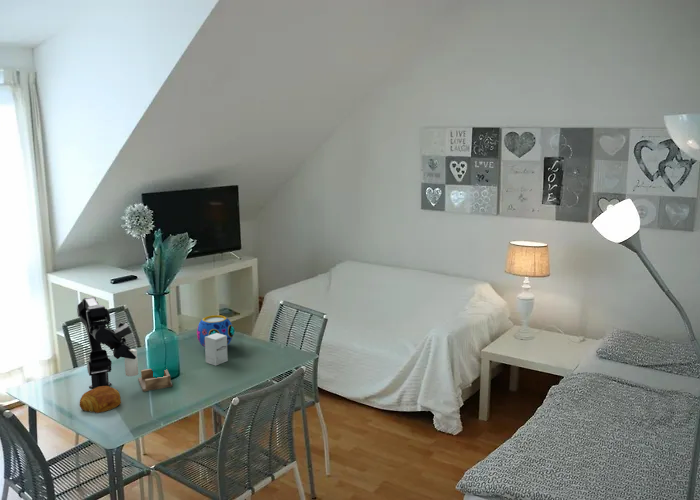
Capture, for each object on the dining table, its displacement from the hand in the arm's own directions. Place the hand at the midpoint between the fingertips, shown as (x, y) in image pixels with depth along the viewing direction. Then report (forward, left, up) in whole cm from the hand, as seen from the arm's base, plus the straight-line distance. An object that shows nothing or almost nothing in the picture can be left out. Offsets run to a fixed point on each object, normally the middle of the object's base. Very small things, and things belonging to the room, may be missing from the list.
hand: (134, 356), depth 263 cm
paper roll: (-1, +1, -8) cm, 8 cm away
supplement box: (+35, -17, -14) cm, 42 cm away
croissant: (-20, +1, -14) cm, 24 cm away
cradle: (+5, -5, -13) cm, 15 cm away
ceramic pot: (+51, -7, -14) cm, 54 cm away
